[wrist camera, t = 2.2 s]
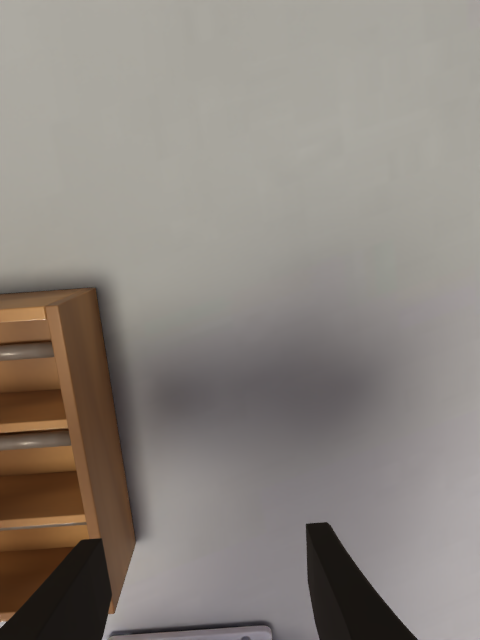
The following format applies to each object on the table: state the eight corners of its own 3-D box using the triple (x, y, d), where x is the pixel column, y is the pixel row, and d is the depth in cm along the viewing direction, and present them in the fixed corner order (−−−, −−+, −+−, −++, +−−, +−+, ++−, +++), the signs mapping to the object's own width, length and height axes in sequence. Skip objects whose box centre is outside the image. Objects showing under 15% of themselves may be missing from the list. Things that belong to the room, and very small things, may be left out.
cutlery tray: (96, 287, 18) (57, 305, 14) (136, 542, 21) (114, 614, 17) (-102, 300, 18) (-195, 322, 14) (-30, 554, 21) (-89, 628, 17)
